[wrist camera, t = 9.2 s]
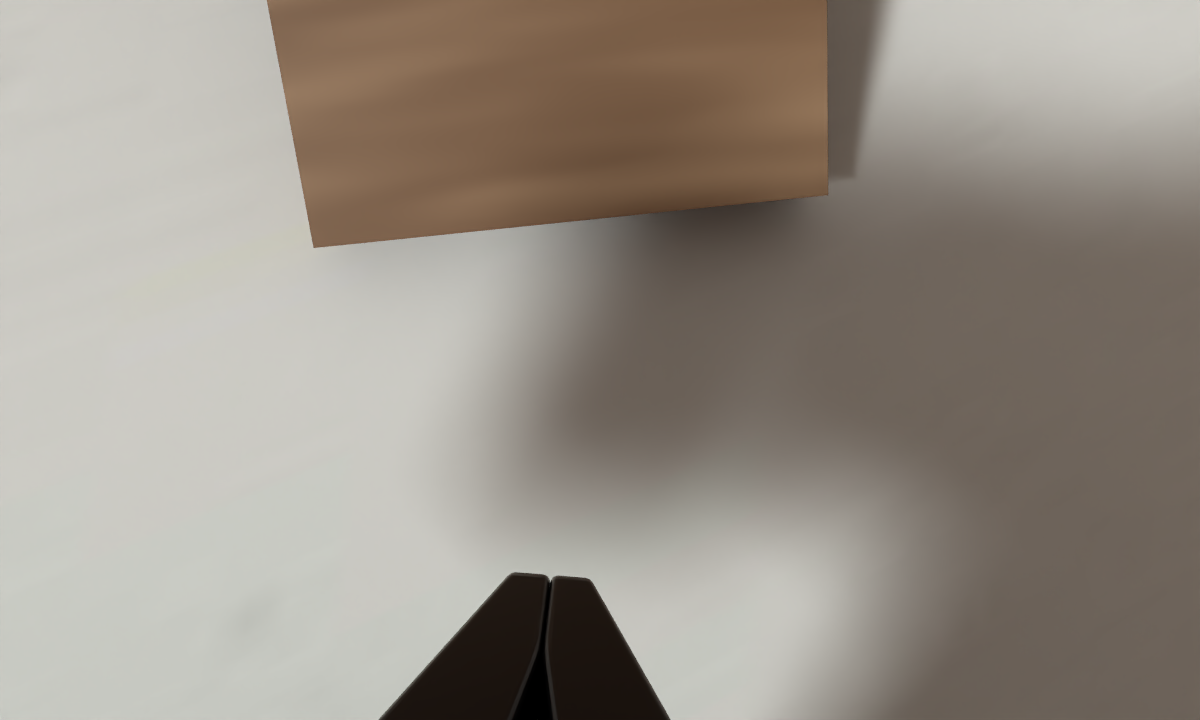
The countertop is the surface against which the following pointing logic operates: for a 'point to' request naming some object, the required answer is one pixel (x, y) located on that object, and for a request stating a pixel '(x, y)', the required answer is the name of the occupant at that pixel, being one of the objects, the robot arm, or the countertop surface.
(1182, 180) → the countertop surface
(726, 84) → the domino
